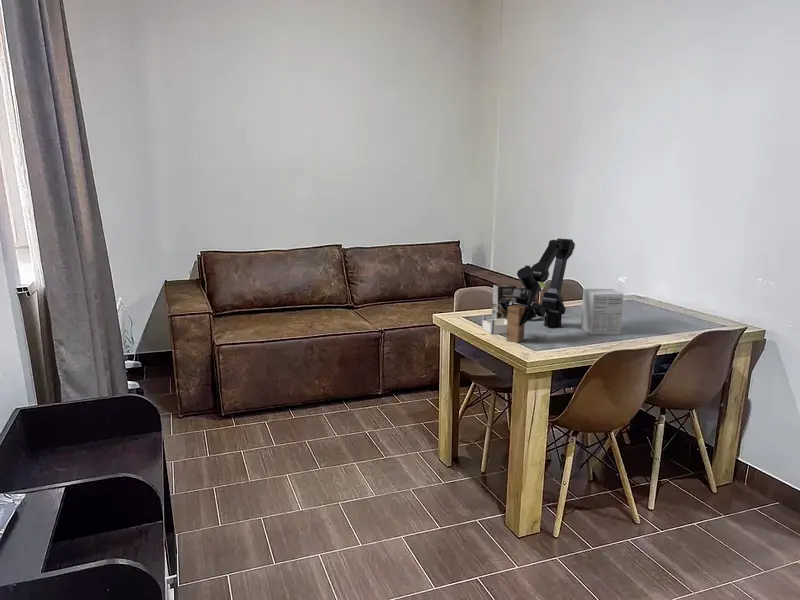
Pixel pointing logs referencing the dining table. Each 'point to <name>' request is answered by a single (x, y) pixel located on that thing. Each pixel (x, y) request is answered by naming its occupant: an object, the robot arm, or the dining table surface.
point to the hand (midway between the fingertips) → (513, 324)
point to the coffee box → (498, 294)
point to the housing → (494, 325)
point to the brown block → (515, 324)
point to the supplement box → (602, 311)
